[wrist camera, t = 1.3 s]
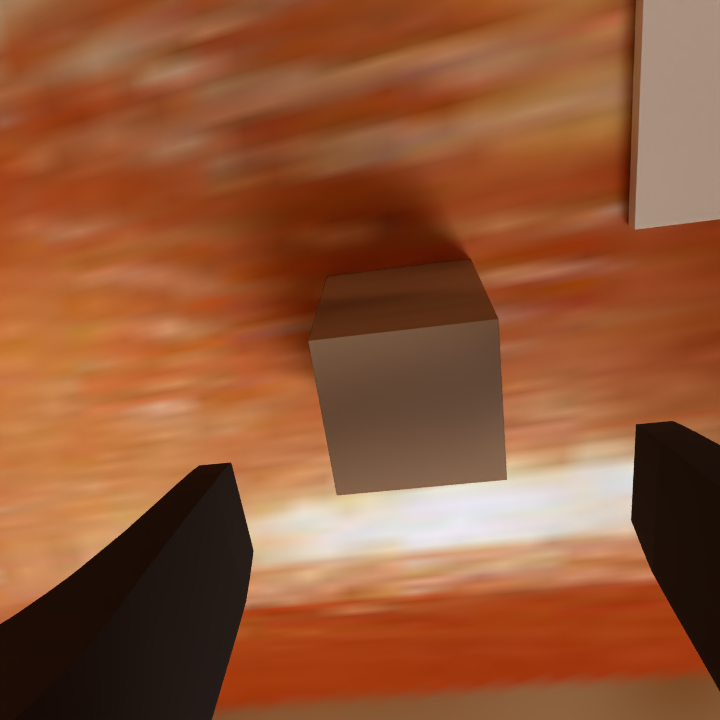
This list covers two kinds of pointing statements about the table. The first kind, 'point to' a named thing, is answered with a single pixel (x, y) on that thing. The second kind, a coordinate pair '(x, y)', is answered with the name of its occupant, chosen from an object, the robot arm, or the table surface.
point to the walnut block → (409, 378)
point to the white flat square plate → (675, 113)
